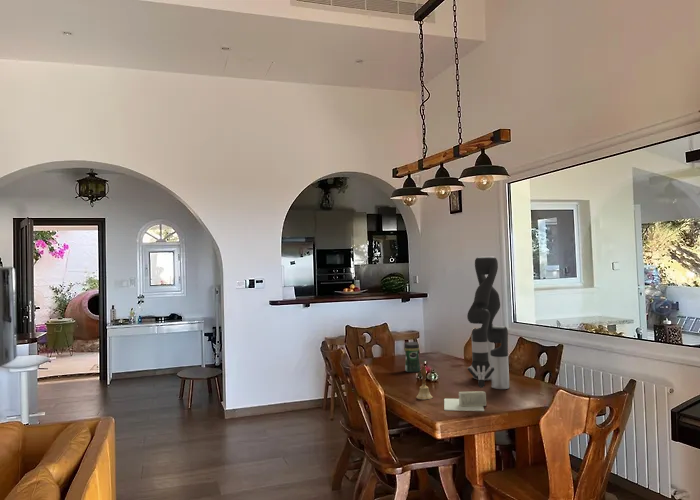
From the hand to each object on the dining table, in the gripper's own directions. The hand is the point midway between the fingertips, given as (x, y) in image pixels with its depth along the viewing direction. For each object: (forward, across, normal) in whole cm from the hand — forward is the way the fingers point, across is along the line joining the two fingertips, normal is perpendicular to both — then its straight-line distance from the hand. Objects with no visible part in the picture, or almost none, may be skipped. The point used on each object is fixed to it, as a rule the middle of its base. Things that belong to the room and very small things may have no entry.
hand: (481, 387), depth 247 cm
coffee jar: (+9, +37, -79) cm, 88 cm away
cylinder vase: (+9, -6, -60) cm, 61 cm away
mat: (+9, +9, 0) cm, 12 cm away
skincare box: (+5, -2, 0) cm, 5 cm away
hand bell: (+9, +28, -13) cm, 32 cm away
